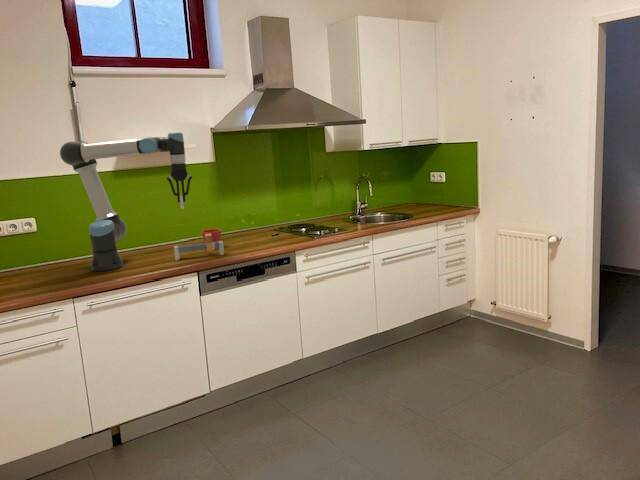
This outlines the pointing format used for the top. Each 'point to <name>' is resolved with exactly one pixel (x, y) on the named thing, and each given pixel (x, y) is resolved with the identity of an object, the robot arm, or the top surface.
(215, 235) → the flower pot
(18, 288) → the top surface
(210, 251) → the collar
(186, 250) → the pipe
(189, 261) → the top surface
